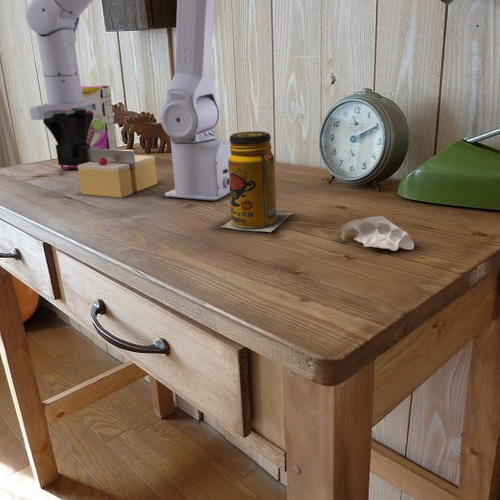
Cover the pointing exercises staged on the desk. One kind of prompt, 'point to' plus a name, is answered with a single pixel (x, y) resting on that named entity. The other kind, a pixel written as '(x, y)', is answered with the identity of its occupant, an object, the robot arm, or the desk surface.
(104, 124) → the candy bar box
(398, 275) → the desk surface
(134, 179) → the cake
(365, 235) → the white irregular chunk
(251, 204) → the condiment
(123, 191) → the cake slice
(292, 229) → the desk surface
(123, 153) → the knife
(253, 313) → the desk surface
